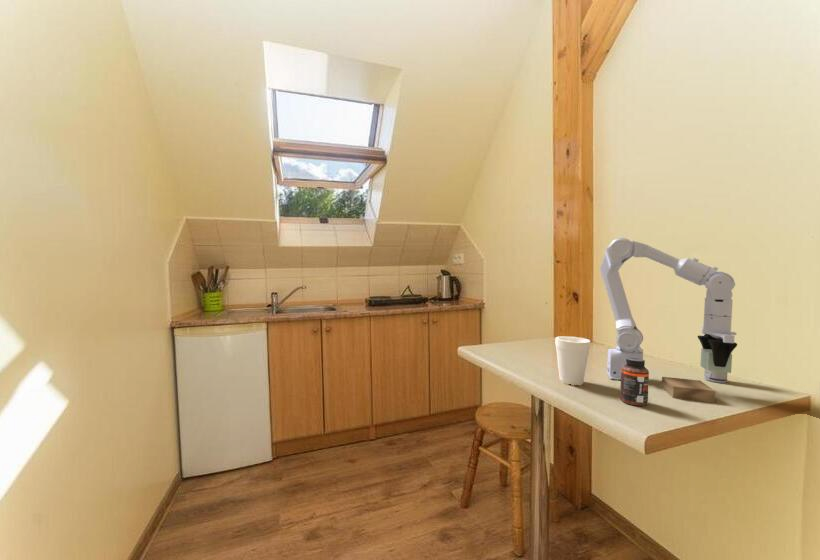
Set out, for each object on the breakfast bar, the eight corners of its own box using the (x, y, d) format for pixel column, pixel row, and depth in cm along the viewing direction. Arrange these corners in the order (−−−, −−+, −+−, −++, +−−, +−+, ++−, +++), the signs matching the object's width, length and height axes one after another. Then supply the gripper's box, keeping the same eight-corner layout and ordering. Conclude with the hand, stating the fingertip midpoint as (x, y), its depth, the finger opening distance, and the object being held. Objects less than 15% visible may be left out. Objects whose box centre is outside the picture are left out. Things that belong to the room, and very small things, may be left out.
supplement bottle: (648, 409, 84) (650, 363, 84) (620, 403, 87) (621, 359, 87) (647, 401, 89) (648, 358, 89) (620, 396, 92) (621, 354, 92)
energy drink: (731, 384, 104) (733, 344, 104) (711, 382, 105) (712, 343, 105) (719, 378, 109) (721, 341, 109) (700, 377, 110) (701, 340, 110)
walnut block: (672, 399, 92) (673, 386, 92) (661, 388, 100) (662, 376, 100) (714, 404, 89) (715, 391, 89) (699, 392, 97) (700, 380, 97)
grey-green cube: (707, 370, 94) (708, 352, 94) (700, 365, 99) (701, 348, 98) (731, 372, 92) (732, 354, 92) (722, 368, 97) (723, 350, 97)
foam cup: (596, 386, 100) (597, 342, 100) (569, 388, 98) (570, 343, 97) (573, 376, 109) (574, 335, 109) (547, 378, 107) (549, 336, 107)
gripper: (750, 319, 87) (747, 372, 87) (723, 313, 100) (721, 359, 101) (715, 317, 89) (713, 369, 90) (693, 311, 103) (691, 356, 103)
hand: (715, 363), depth 95 cm, fingers closed on grey-green cube, 5 cm apart
